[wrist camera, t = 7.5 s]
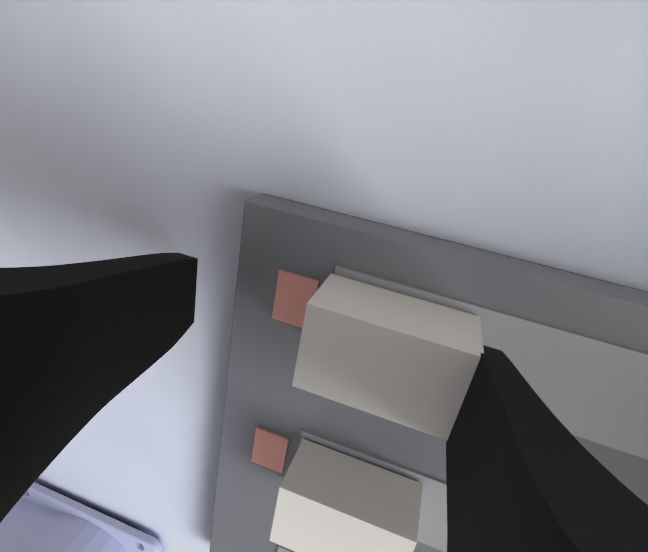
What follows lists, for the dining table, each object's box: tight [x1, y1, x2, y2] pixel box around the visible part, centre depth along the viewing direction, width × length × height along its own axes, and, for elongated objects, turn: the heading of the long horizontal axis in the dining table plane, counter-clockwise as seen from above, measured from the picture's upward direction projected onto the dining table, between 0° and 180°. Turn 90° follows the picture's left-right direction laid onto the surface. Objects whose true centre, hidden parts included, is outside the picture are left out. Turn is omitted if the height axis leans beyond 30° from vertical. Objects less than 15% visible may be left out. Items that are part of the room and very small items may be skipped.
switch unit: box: [210, 194, 648, 552], centre depth 14 cm, size 15×17×1 cm
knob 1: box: [292, 274, 484, 440], centre depth 11 cm, size 4×2×2 cm, turn 79°
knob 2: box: [269, 439, 423, 552], centre depth 13 cm, size 4×2×2 cm, turn 80°
